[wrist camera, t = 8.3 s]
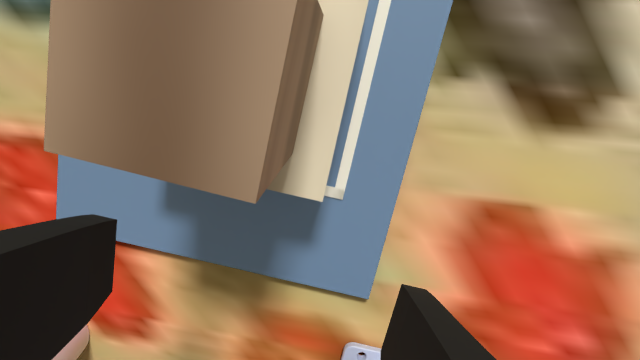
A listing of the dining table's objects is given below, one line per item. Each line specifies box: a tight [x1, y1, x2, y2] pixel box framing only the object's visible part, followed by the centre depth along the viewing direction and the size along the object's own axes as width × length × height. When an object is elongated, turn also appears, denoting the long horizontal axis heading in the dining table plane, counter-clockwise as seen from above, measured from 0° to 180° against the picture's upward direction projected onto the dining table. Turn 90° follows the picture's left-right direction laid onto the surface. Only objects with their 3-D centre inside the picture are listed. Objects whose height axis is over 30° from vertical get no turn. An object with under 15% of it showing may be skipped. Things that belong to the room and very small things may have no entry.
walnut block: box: [44, 0, 324, 204], centre depth 11 cm, size 5×5×6 cm
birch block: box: [267, 0, 369, 202], centre depth 16 cm, size 8×8×4 cm
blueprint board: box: [56, 0, 453, 299], centre depth 19 cm, size 17×16×1 cm
